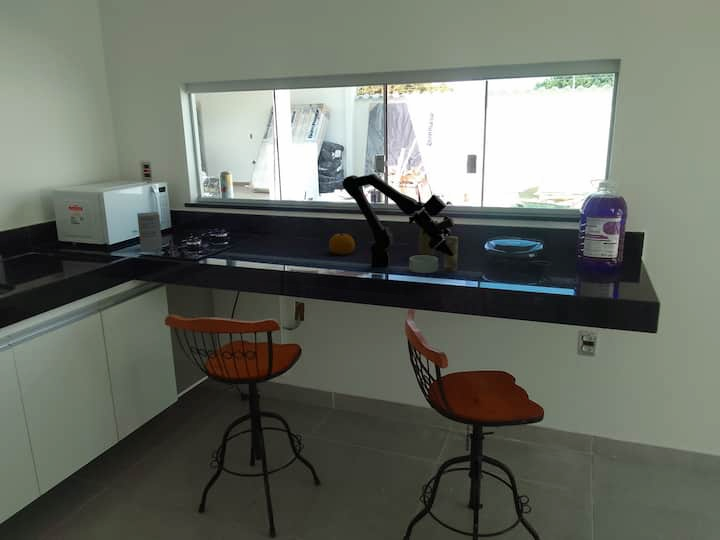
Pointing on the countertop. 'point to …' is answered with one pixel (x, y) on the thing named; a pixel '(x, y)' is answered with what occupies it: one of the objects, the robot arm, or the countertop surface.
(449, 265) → the birch post
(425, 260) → the celadon cup
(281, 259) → the countertop surface
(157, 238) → the supplement box
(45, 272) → the countertop surface
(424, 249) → the squeeze bottle
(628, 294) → the countertop surface
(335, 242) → the fruit
